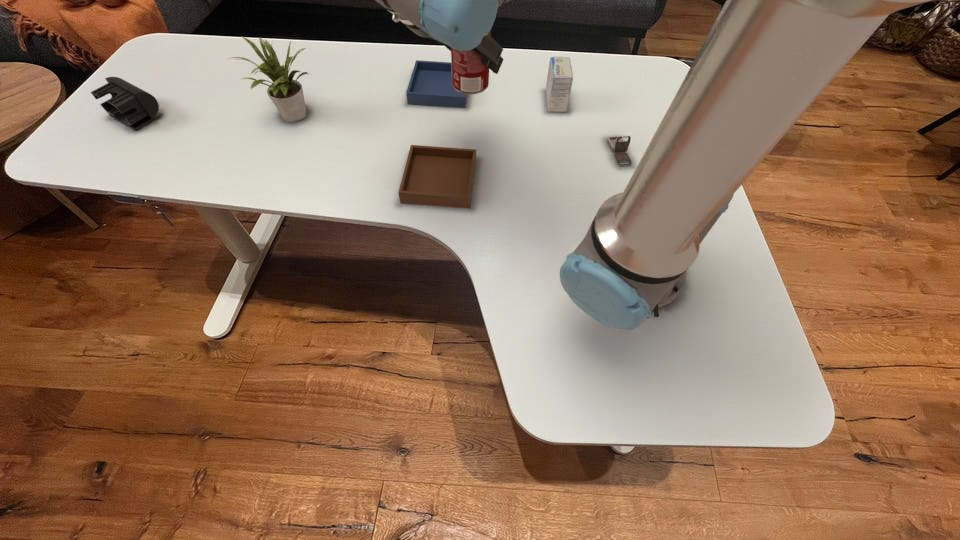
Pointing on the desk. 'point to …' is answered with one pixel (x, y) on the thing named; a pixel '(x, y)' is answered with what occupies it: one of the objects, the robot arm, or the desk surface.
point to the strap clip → (620, 149)
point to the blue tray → (434, 86)
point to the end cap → (127, 103)
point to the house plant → (280, 82)
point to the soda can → (468, 72)
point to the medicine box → (559, 84)
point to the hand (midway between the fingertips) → (481, 59)
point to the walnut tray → (438, 176)
